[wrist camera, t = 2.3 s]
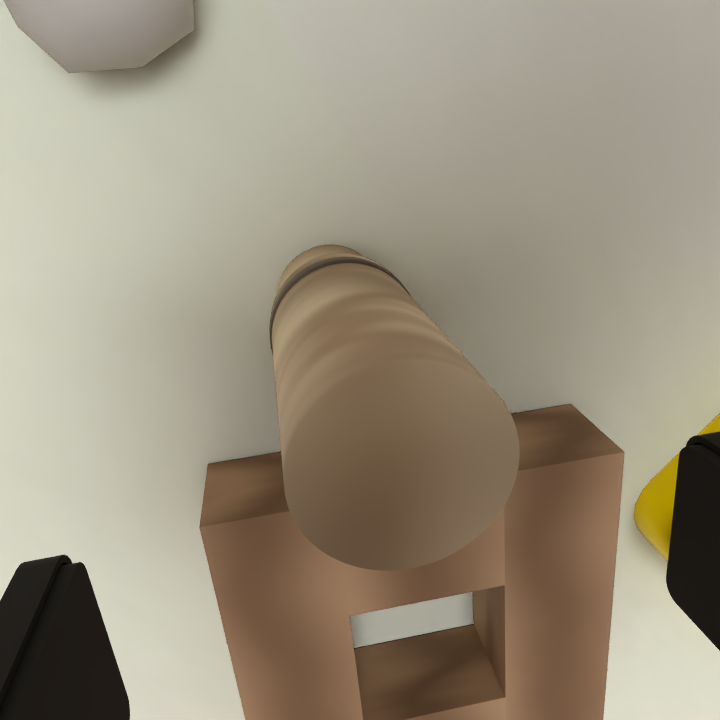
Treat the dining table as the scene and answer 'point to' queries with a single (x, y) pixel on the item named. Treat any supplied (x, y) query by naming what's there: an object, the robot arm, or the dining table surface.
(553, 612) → the board
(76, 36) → the tube
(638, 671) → the dining table surface
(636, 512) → the element tile
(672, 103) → the dining table surface
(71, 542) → the dining table surface
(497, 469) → the peg
